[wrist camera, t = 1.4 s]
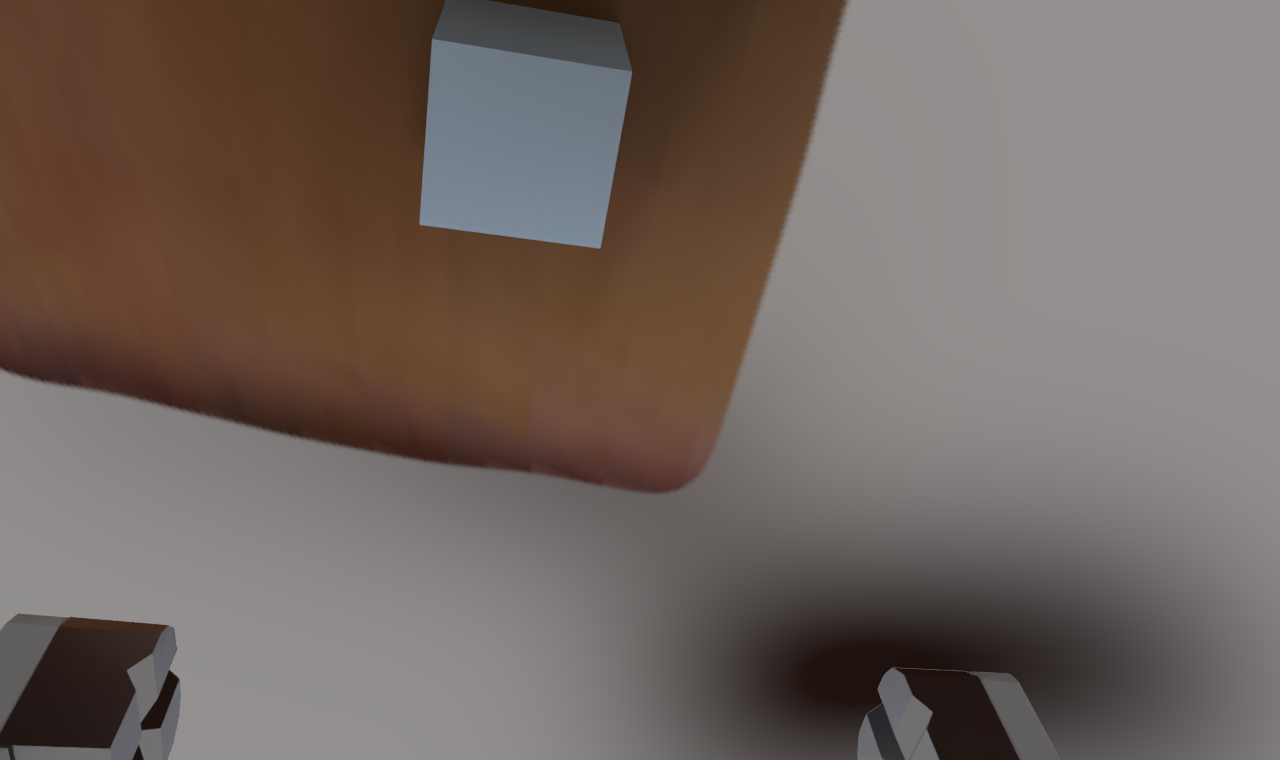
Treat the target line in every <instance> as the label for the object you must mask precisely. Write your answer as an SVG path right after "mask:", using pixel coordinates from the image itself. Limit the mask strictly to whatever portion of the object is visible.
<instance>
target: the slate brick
mask: <svg viewBox="0 0 1280 760" xmlns="http://www.w3.org/2000/svg"><path fill="white" fill-rule="evenodd" d="M631 77H632V69H631V65H630V61H629V57H628V53H627V50H626V46H625V42H624V38H623V34H622V31H621V27H620V23H617V22H611V21H605V20H599V19H594V18H588V17H582V16H576V15H571V14H565V13H559V12H553V11H547V10H542V9H536V8H530V7H524V6H518V5H513V4H507V3H501V2H495V1H490V0H446V1H445V4H444V6H443V9H442V12H441V15H440V18H439V21H438V24H437V26H436V29H435V32H434V35H433V38H432V48H431V63H430V77H429V92H428V106H427V121H426V136H425V150H424V165H423V180H422V194H421V209H420V223H419V225H425V226H433V227H441V228H448V229H456V230H463V231H471V232H478V233H486V234H494V235H501V236H509V237H516V238H524V239H531V240H539V241H547V242H554V243H562V244H569V245H577V246H584V247H592V248H599V249H600V248H601V243H602V237H603V232H604V226H605V220H606V215H607V209H608V204H609V198H610V193H611V187H612V182H613V176H614V171H615V165H616V160H617V154H618V149H619V143H620V138H621V132H622V127H623V121H624V115H625V110H626V104H627V99H628V93H629V88H630V82H631Z"/></svg>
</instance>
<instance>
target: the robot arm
mask: <svg viewBox="0 0 1280 760" xmlns="http://www.w3.org/2000/svg"><path fill="white" fill-rule="evenodd" d="M176 651H177V646H176V638H175V630H174V628H173V627H171V626H169V625H159V624H147V623H135V622H123V621H111V620H99V619H86V618H75V617H70V618H67V617H53V616H41V615H28V614H17V615H16V616H14V618H12V619H11V620H10V621H8V622H7V623H6V624H5V625H4V626H3V627H2V629H1V630H0V760H167V759H168V756H169V753H170V751H171V748H172V745H173V741H174V737H175V732H176V728H177V723H178V719H179V711H180V697H181V693H180V679H179V678H178V677H177V676H176V675H175V674H174V673H173V672H171V671H170V670H169V669H170V666H171V664H172V661H173V659H174V656H175V654H176ZM878 691H879V694H880V696H881V699H882V702H883V703H882V704H880V705H879V706H878V707H876V708H875V709H873V710H872V711H870V712H869V713H867V714H866V717H865V719H864V722H863V724H862V727H861V730H860V733H859V742H858V760H1060V758H1059V756H1058V754H1057V753H1056V750H1055V748H1054V747H1053V745H1052V743H1051V741H1050V739H1049V737H1048V736H1047V734H1046V732H1045V730H1044V728H1043V726H1042V724H1041V723H1040V721H1039V719H1038V717H1037V715H1036V713H1035V712H1034V710H1033V708H1032V706H1031V704H1030V702H1029V701H1028V699H1027V697H1026V695H1025V693H1024V691H1023V689H1022V688H1021V686H1020V684H1019V683H1018V681H1017V680H1016V679H1015V678H1013V677H1012V676H1011V675H1010V674H1004V673H985V672H966V671H952V670H931V669H930V670H929V669H909V668H892V669H891V670H889V671H888V672H887V673H886V674H885V675H884V677H883V679H882V681H881V683H880V685H879V687H878Z"/></svg>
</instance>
